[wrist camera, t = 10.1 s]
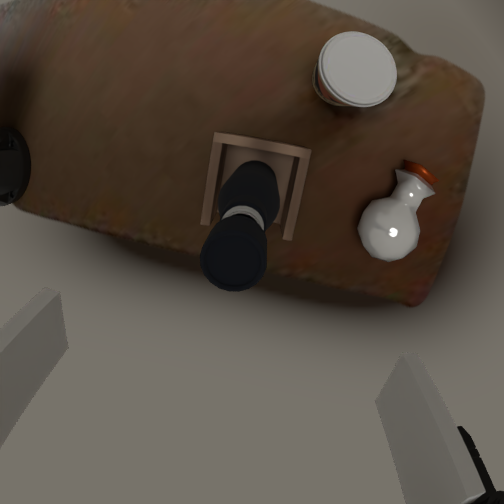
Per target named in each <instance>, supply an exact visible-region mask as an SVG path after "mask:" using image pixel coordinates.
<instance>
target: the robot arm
mask: <svg viewBox="0 0 504 504" xmlns="http://www.w3.org/2000/svg"><path fill="white" fill-rule="evenodd" d="M29 177H30V155H29V150H28V147H27V144H26V142H25V140H24V138H23V137H22V135H21V134H20V133H19V132H18V131H17V130H15V129H13V128H11V127H2V128H0V206H5V205H8V204H11V203H13V202H15V201H17V200H18V199H19V198H20V197H21V196H22V195H23V193H24V191H25V190H26V187H27V185H28V181H29ZM67 349H68V342H67V337H66V331H65V325H64V319H63V312H62V304H61V296H60V292H59V291H55V290H52V289H49V288H44V289H42V290H41V291H40V292H39V293H38V294H37V295H36V296H35V297H33V298H32V299H31V300H30V301H29V302H28V303H27V304H26V305H25V306H24V307H23V308H22V309H20V310H19V311H18V312H17V313H16V314H15V315H14V316H13V317H12V318H11V319H10V320H9V321H8V322H7V323H6V324H5V325H4V326H3V327H2V328H1V329H0V448H1V446H2V445H3V443H4V441H5V440H6V438H7V437H8V435H9V433H10V432H11V430H12V429H13V427H14V425H15V424H16V422H17V421H18V419H19V417H20V416H21V415H22V413H23V412H24V410H25V409H26V407H27V406H28V404H29V403H30V401H31V400H32V398H33V397H34V395H35V394H36V392H37V391H38V389H39V388H40V386H41V385H42V384H43V382H44V381H45V379H46V378H47V377H48V375H49V374H50V372H51V371H52V370H53V368H54V367H55V365H56V364H57V363H58V361H59V360H60V359H61V357H62V356H63V355H64V353H65V352H66V350H67ZM375 403H376V405H377V409H378V412H379V414H380V418H381V421H382V424H383V427H384V430H385V433H386V436H387V440H388V443H389V446H390V450H391V453H392V456H393V460H394V463H395V466H396V470H397V473H398V477H399V480H400V484H401V488H402V491H403V495H404V499H405V502H406V504H504V491H496V489H495V488H494V486H493V484H492V481H491V479H490V476H489V474H488V472H487V470H486V467H485V465H484V463H483V461H482V459H481V458H480V457H479V456H480V454H479V452H478V450H477V449H475V447H476V446H475V444H474V442H473V440H472V438H471V436H470V435H469V434H468V433H467V432H466V430H465V429H464V428H463V427H462V426H458V427H457V426H456V424H455V422H454V420H453V418H452V416H451V414H450V412H449V410H448V408H447V407H446V405H445V403H444V401H443V399H442V397H441V395H440V393H439V391H438V389H437V387H436V385H435V384H434V382H433V380H432V378H431V376H430V374H429V373H428V371H427V369H426V367H425V365H424V364H423V362H422V360H421V358H420V356H419V355H418V353H404V352H402V354H401V356H400V357H399V359H398V361H397V363H396V365H395V367H394V369H393V371H392V372H391V374H390V376H389V378H388V380H387V382H386V383H385V385H384V387H383V389H382V390H381V392H380V394H379V396H378V397H377V399H376V400H375Z"/></svg>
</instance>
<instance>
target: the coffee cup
mask: <svg viewBox="0 0 504 504" xmlns="http://www.w3.org/2000/svg"><path fill="white" fill-rule="evenodd" d="M396 78H397V72H396V66H395V62H394V59H393V57H392V55H391V53H390V52H389V51H388V49H387V48H386V47H385V46H384V45H383V44H382V43H381V42H380V41H378V40H377V39H375V38H374V37H372V36H370V35H367V34H364V33H361V32H344V33H341V34H338V35H336V36H334V37H332V38H331V39H330V40H329V41H328V42H327V43H326V44H325V45H324V47H323V48H322V50H321V53H320V56H319V59H318V61H317V63H316V65H315V68H314V70H313V74H312V83H313V87H314V89H315V91H316V93H317V94H318V95H319V96H320V97H321V98H322V99H323V100H324V101H326V102H327V103H330V104H332V105H337V106H357V107H370V106H374V105H377V104H379V103H381V102H383V101H384V100H385V99H386V98H388V96H389V95H390V94H391V93H392V91H393V89H394V87H395V84H396Z"/></svg>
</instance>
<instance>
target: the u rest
mask: <svg viewBox="0 0 504 504" xmlns="http://www.w3.org/2000/svg"><path fill="white" fill-rule="evenodd" d="M310 155H311V150H310V149H308V148H306V147H303V146H299V145H294V144H289V143H284V142H279V141H274V140H269V139H263V138H258V137H252V136H246V135H240V134H234V133H228V132H214V138H213V144H212V150H211V156H210V162H209V169H208V175H207V182H206V188H205V195H204V202H203V209H202V217H201V225H207V226H210V224H211V222H212V220H213V218H214V217H215V215H216V213H217V212H218V213H219V211H218V196H219V193H220V190H221V188H222V186H223V185H224V184H225V182H226V181H227V180H228V179H229V177H230V176H231V175H232V174H233V173H234V171H235V170H236V169H237V168H238V167H239V166H240V165H242V164H243V163H244V162H248V161H251V160H258V161H261V162H264V163H266V164H267V165H269V166H270V167H271V168H272V170H273V171H274V172H275V176H276V179H277V184H278V190H279V196H280V209H279V212H278V214H277V217H276V219H275V220H274V223H279V224H280V227H281V233H282V239H285V240H290V241H292V236H293V232H294V228H295V223H296V219H297V215H298V210H299V206H300V201H301V197H302V192H303V188H304V183H305V179H306V174H307V169H308V165H309V160H310Z"/></svg>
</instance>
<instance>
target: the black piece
mask: <svg viewBox="0 0 504 504" xmlns="http://www.w3.org/2000/svg"><path fill="white" fill-rule="evenodd" d="M279 209H280V196H279V190H278V184H277V179H276V176H275V172H274V171H273V170H272V168H271V167H270V166H269V165H267V164H266V163H264V162H261V161H258V160H251V161H248V162H244V163H243V164H242V165H240V166H239V167H238V168H237V169H236V170H235V171H234V173H233V174H232V175H231V176H230V177H229V179H228V180H227V181H226V182H225V184H224V185H223V186H222V188H221V190H220V193H219V196H218V211H219V215H220V217H221V218H220V221H219V222H218V223H217V224H216V225H215V226H214V228H213V229H212V230H211V232H210V234H209V236H208V238H207V239H206V241H205V243H204V245H203V247H202V250H201V254H200V265H201V268H202V271H203V273H204V275H205V276H206V277H207V279H208V280H209V281H210V282H211V283H212V284H214V285H215V286H217V287H218V288H220V289H224V290H227V291H243V290H246V289H249V288H250V287H252V286H254V285H256V284H257V283H258V282H259V280H260V279H261V278H262V277H263V275H264V272H265V270H266V266H267V238H266V235H265V231H266V229H268V228H269V227H270V225H271V224H272V223H273V222H274V220H275V219H276V217H277V214H278V212H279Z"/></svg>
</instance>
